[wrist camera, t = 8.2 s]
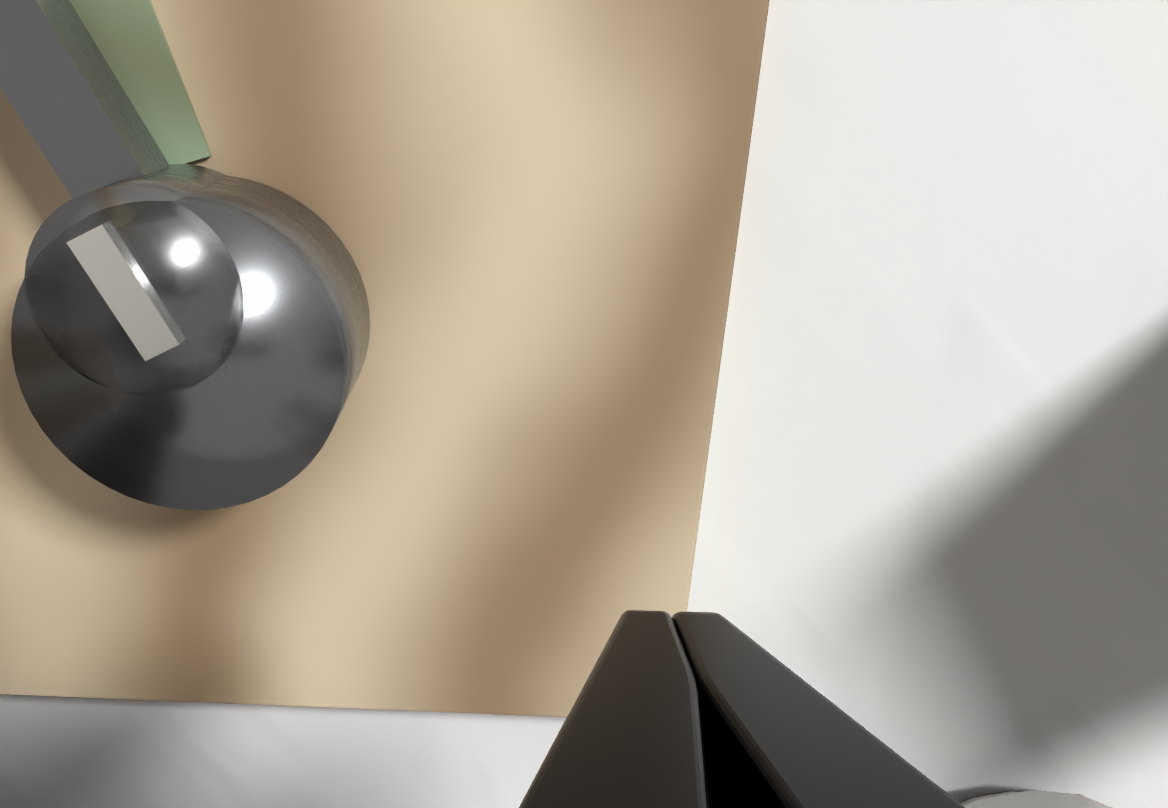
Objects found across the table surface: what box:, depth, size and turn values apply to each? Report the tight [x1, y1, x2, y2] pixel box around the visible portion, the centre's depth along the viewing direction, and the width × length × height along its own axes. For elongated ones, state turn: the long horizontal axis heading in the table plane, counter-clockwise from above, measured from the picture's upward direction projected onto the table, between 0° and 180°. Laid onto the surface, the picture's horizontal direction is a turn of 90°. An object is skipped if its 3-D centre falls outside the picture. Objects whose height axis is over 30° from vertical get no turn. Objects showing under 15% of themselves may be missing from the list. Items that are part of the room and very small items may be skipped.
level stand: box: [0, 0, 769, 717], centre depth 17 cm, size 18×17×6 cm
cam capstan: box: [0, 0, 370, 510], centre depth 14 cm, size 11×5×7 cm, turn 25°
